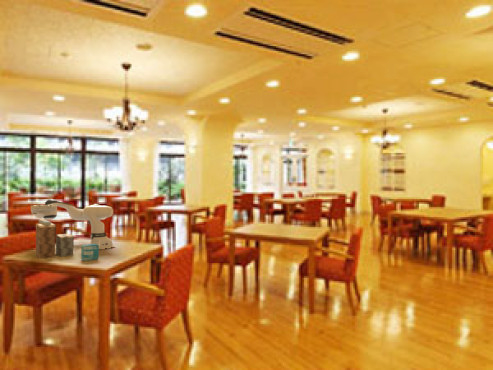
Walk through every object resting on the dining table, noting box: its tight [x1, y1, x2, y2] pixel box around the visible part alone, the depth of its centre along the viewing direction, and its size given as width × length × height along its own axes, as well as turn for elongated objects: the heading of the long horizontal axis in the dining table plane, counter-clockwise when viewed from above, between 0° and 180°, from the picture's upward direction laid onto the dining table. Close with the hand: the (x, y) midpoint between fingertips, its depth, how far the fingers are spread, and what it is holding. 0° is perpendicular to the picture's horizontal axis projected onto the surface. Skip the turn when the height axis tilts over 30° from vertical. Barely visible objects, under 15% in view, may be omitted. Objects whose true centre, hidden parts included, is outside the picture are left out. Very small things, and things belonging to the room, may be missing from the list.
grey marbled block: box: [55, 233, 75, 257], centre depth 305 cm, size 10×13×16 cm
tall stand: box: [35, 222, 57, 259], centre depth 295 cm, size 11×13×26 cm
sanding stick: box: [38, 218, 52, 225], centre depth 299 cm, size 4×22×3 cm, turn 42°
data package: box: [80, 243, 100, 262], centre depth 288 cm, size 12×4×12 cm, turn 128°
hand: (45, 205), depth 322 cm, fingers open, 8 cm apart
